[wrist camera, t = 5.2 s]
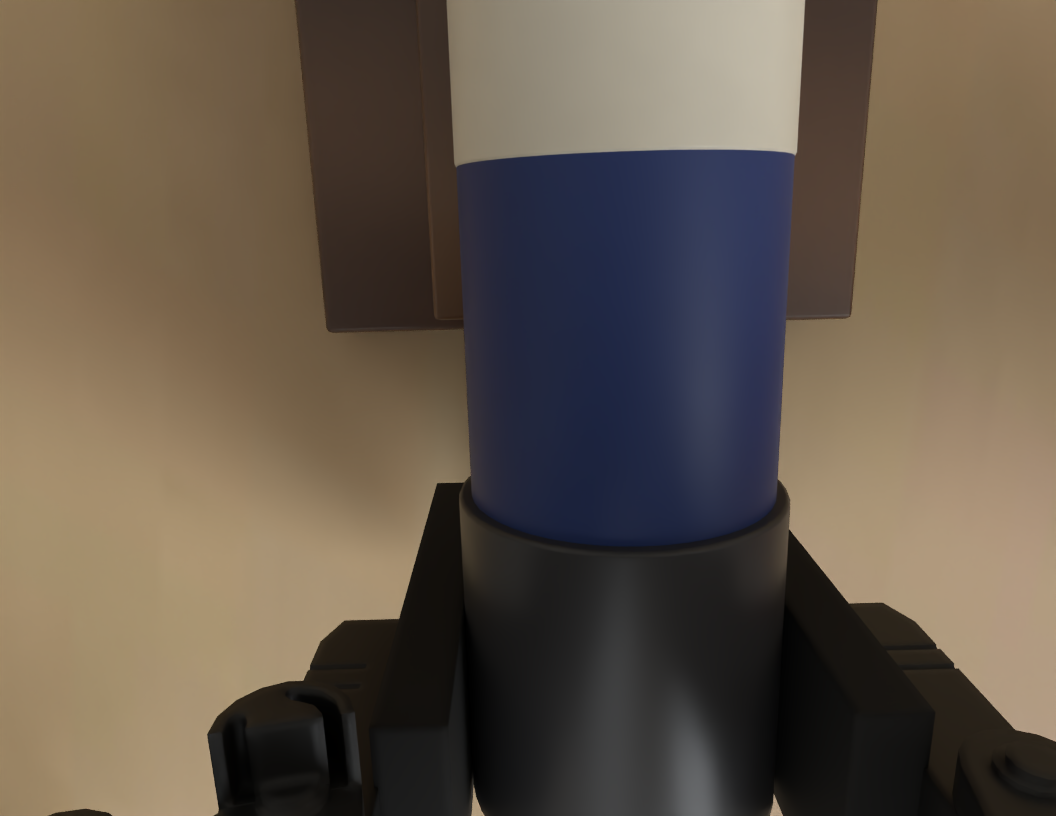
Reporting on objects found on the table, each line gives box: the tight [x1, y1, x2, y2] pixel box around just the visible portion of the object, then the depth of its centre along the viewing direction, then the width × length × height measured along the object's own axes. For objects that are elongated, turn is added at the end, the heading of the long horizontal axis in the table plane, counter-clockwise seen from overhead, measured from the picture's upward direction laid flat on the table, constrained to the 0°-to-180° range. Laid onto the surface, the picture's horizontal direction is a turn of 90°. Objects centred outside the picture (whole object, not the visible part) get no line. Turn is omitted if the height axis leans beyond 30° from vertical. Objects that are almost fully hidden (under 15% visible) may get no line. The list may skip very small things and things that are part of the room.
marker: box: [447, 0, 805, 816], centre depth 9 cm, size 15×4×4 cm, turn 2°
